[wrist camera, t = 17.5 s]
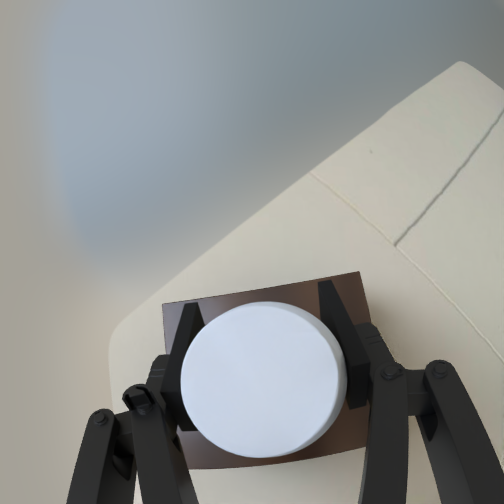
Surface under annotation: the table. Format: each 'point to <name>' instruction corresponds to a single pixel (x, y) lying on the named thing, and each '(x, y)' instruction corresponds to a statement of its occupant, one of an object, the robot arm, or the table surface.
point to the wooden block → (306, 297)
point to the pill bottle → (264, 380)
